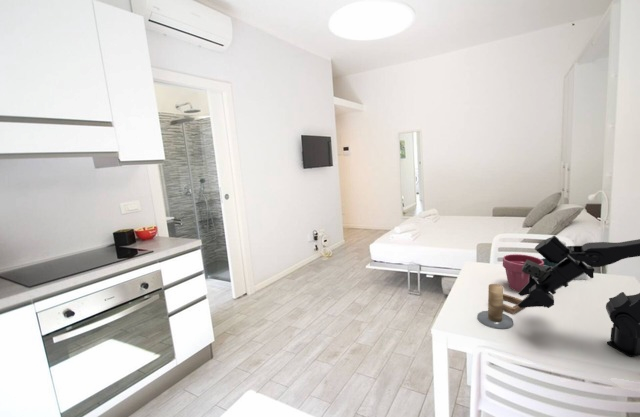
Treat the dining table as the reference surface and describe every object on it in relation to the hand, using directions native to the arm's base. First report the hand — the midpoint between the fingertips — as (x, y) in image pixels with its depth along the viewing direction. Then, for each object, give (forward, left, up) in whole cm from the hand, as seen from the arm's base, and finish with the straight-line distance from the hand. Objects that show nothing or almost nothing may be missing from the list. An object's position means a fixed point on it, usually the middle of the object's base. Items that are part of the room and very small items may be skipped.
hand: (519, 300), depth 100 cm
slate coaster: (+4, +5, -9) cm, 11 cm away
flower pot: (+26, -36, -9) cm, 46 cm away
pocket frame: (+12, -6, -9) cm, 17 cm away
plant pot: (+24, -22, -9) cm, 34 cm away
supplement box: (+28, -50, -9) cm, 58 cm away
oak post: (+4, +5, -8) cm, 11 cm away
